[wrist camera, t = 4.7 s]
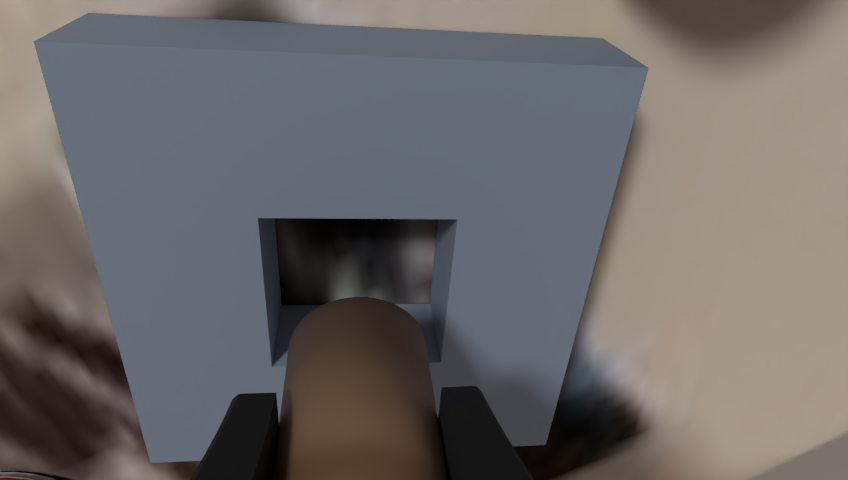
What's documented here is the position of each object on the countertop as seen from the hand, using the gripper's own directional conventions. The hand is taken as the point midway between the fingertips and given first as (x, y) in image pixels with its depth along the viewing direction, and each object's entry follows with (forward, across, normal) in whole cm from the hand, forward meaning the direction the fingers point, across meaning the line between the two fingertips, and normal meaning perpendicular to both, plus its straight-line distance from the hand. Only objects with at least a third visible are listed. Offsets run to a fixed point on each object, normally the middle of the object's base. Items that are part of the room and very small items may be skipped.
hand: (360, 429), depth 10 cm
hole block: (+6, 0, 0) cm, 6 cm away
